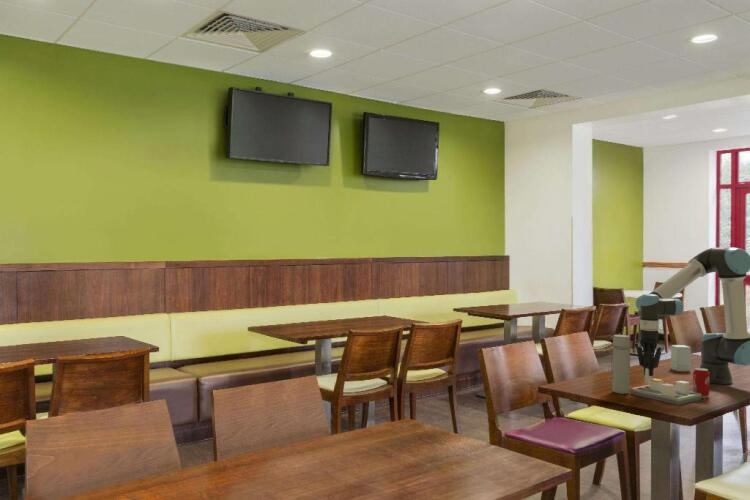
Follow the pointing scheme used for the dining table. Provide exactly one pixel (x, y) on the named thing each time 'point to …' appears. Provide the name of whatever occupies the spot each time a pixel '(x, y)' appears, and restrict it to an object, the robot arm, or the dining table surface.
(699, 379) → the beverage can
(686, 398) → the panel
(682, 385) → the block
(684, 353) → the supplement box
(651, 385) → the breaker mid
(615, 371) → the water bottle
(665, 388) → the block
